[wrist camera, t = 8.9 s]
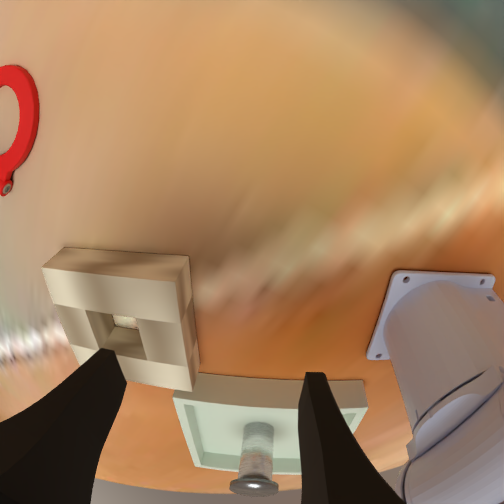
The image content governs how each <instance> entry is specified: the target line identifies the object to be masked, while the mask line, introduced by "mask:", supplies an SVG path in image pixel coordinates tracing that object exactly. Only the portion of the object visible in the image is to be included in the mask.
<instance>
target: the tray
mask: <svg viewBox="0 0 504 504" xmlns="http://www.w3.org/2000/svg"><path fill="white" fill-rule="evenodd" d="M303 383H304V380H279V379H261V378H247V377H235V376H225V375H215V374H206V373H198V374H197V378H196V381H195V385H194V389H193V392H189V391H182V390H176V389H175V391H174V394H173V401H174V404H175V408H176V411H177V414H178V417H179V421H180V424H181V427H182V430H183V433H184V436H185V439H186V442H187V445H188V448H189V451H190V454H191V456H192V459H193V462H194V465H195V466H196V467H202V468H209V469H216V470H225V471H234V472H239V465H240V456H241V448H242V439H243V431H244V426H245V425H246V424H248V423H251V422H264V423H268V424H270V425H272V426H273V427H274V450H273V470H272V474H285V475H302V474H301V462H300V450H299V438H298V403H299V399H300V395H301V391H302V387H303ZM328 383H329V386H330V389H331V391H332V393H333V396H334V398H335V400H336V403H337V405H338V407H339V409H340V411H341V413H342V415H343V417H344V419H345V421H346V423H347V425H348V427H349V429H350V430H351V432H352V434H353V433H354V432H355V430H356V428H357V427H358V425H359V423H360V422H361V420H362V418H363V416H364V415H365V413H366V411H367V409H368V402H367V398H366V393H365V388H364V384H363V380H342V381H328Z"/></svg>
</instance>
